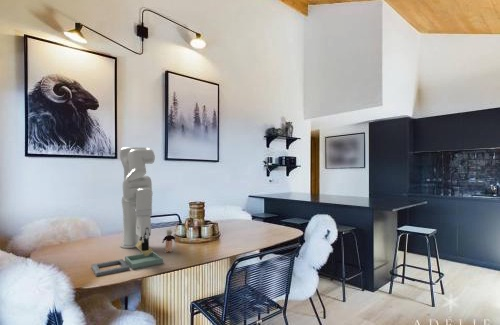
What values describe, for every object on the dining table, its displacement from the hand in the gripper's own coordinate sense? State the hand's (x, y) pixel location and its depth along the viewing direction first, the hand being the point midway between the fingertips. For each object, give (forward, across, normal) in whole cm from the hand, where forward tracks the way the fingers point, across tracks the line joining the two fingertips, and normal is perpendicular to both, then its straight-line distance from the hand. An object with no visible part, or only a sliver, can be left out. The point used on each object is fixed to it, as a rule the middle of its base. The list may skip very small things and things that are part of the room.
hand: (143, 249), depth 149 cm
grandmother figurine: (+7, -11, +18) cm, 22 cm away
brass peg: (+2, 0, +2) cm, 3 cm away
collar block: (+7, 0, -16) cm, 17 cm away
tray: (+7, 0, 0) cm, 7 cm away
